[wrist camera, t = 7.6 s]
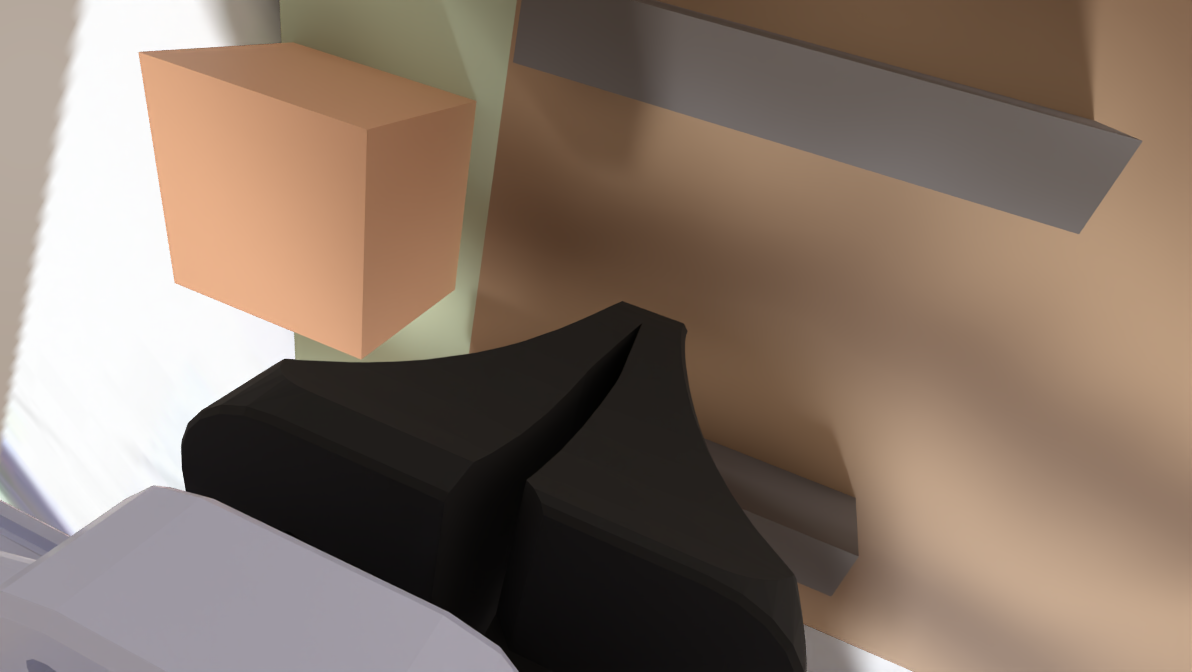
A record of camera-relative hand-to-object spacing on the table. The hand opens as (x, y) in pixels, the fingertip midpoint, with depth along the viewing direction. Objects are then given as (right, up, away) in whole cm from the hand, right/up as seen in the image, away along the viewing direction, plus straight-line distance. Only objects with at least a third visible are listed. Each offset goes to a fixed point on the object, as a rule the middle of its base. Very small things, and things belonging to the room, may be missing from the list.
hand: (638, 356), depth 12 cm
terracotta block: (-6, +5, +4) cm, 9 cm away
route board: (+3, +1, +3) cm, 5 cm away
